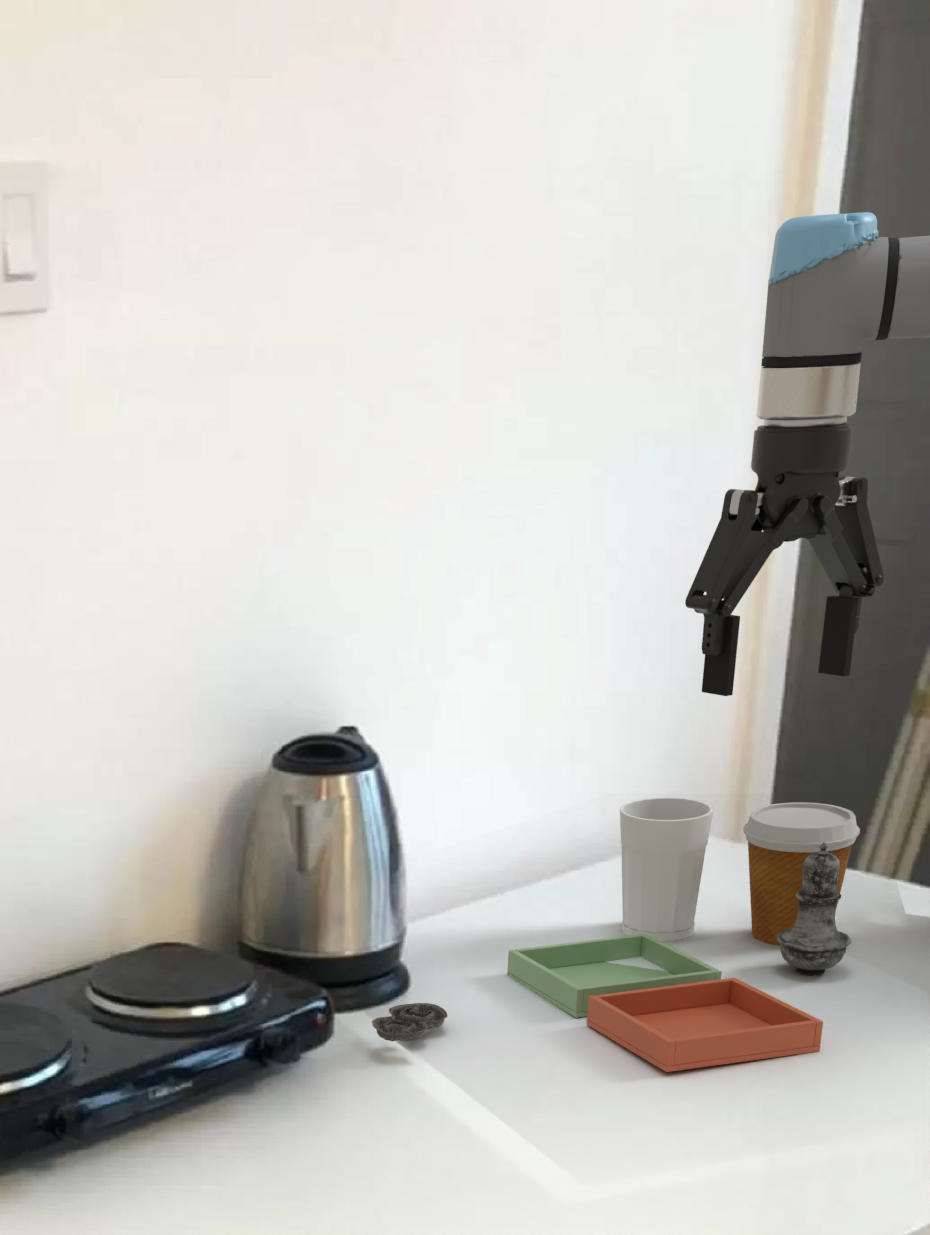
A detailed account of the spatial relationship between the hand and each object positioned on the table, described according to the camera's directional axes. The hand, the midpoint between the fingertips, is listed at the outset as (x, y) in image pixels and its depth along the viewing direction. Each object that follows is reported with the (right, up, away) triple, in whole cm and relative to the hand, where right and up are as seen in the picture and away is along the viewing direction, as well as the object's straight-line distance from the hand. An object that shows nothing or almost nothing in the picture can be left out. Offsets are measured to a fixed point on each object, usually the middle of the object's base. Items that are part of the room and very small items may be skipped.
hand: (776, 684), depth 175 cm
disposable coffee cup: (+5, -22, +9) cm, 24 cm away
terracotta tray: (-11, -31, -11) cm, 35 cm away
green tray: (-14, -26, +1) cm, 30 cm away
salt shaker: (+3, -25, +1) cm, 26 cm away
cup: (-5, -20, +14) cm, 25 cm away
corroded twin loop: (-33, -30, -6) cm, 45 cm away
